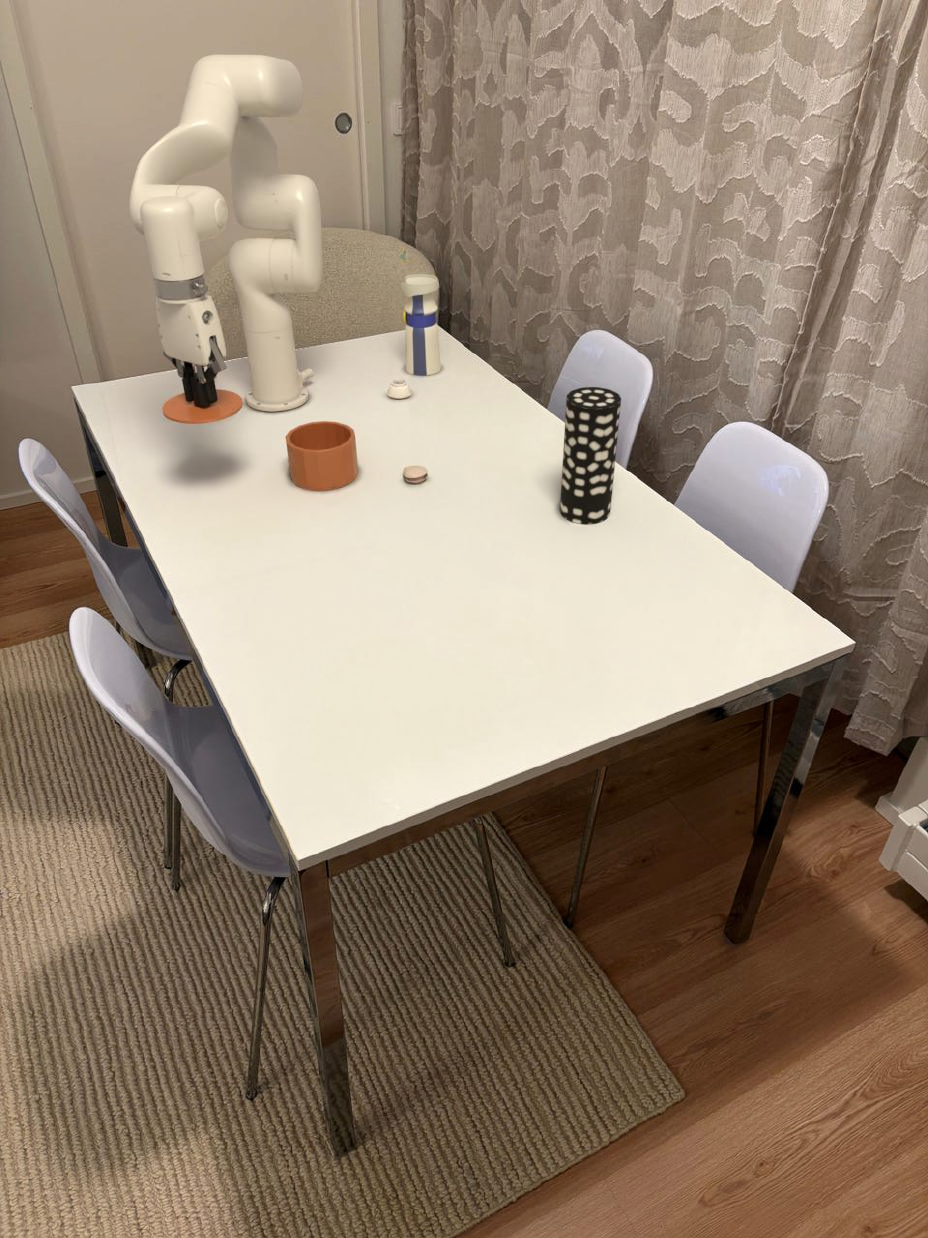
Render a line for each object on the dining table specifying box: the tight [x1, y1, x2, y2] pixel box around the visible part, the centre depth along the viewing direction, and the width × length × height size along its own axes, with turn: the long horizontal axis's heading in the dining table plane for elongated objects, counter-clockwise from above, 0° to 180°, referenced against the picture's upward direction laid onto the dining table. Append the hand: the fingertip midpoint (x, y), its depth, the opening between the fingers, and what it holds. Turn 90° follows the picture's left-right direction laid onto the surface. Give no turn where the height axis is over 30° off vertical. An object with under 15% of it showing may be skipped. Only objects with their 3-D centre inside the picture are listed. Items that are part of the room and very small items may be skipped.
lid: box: [161, 371, 244, 425], centre depth 151 cm, size 13×13×6 cm
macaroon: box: [402, 465, 429, 484], centre depth 164 cm, size 4×5×2 cm
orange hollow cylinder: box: [285, 420, 359, 492], centre depth 164 cm, size 12×12×8 cm
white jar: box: [386, 378, 413, 400], centre depth 193 cm, size 5×3×5 cm
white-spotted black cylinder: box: [559, 386, 622, 525], centre depth 149 cm, size 8×8×20 cm
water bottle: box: [398, 247, 442, 377], centre depth 197 cm, size 8×9×25 cm
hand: (201, 400), depth 152 cm, fingers closed on lid, 2 cm apart
